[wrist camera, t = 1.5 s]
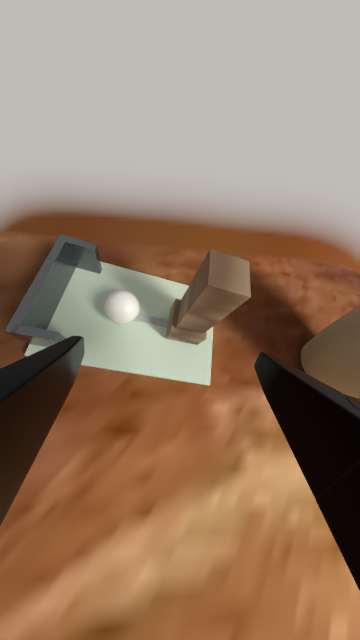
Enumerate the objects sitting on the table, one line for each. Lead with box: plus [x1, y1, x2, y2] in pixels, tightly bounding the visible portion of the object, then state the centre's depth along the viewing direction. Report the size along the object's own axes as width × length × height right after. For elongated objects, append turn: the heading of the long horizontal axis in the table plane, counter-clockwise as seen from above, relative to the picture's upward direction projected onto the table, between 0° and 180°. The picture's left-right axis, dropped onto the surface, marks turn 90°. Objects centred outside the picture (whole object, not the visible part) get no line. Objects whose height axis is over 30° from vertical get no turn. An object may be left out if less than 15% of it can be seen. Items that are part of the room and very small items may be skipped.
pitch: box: [24, 261, 213, 386], centre depth 23 cm, size 21×14×1 cm, turn 82°
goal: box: [5, 234, 102, 347], centre depth 19 cm, size 4×12×4 cm, turn 172°
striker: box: [166, 249, 251, 345], centre depth 19 cm, size 4×4×12 cm
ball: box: [104, 290, 140, 324], centre depth 21 cm, size 4×4×4 cm
